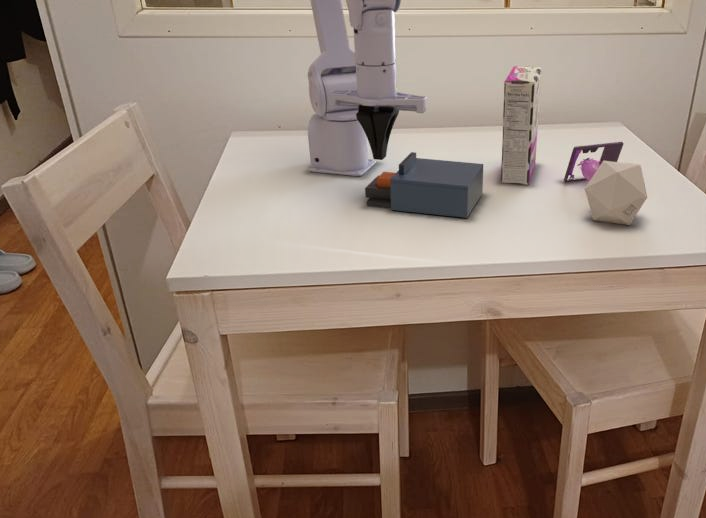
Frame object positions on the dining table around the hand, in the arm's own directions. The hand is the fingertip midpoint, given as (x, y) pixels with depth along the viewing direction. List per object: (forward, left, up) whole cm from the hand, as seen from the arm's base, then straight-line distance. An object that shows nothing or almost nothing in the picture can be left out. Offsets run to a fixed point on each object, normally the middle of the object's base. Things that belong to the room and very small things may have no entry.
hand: (379, 157), depth 109 cm
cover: (+9, 0, -6) cm, 11 cm away
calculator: (+7, 0, -6) cm, 9 cm away
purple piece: (+32, +16, -6) cm, 36 cm away
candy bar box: (+19, +17, -6) cm, 26 cm away
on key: (+2, 0, -4) cm, 4 cm away
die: (+36, +1, -6) cm, 36 cm away
